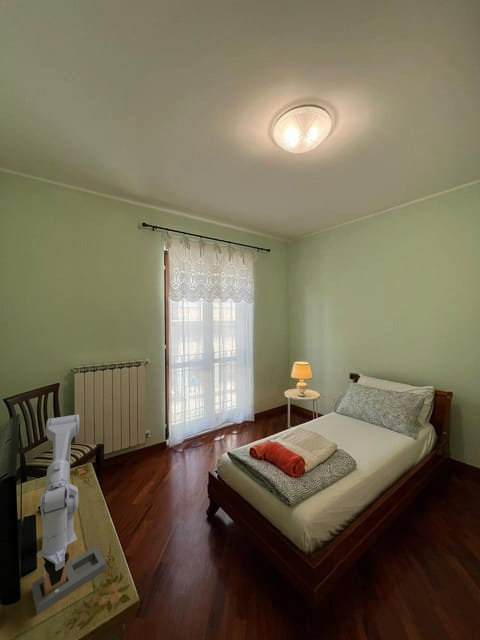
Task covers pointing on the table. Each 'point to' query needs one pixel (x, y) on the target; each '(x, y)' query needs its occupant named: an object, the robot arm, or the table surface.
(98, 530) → the table surface
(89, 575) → the grey slotted tray
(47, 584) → the tan rectangular block
